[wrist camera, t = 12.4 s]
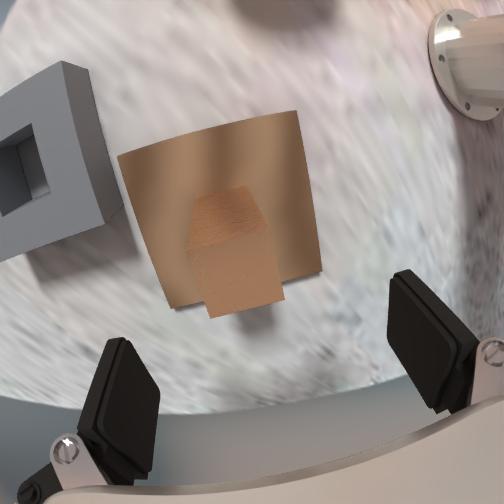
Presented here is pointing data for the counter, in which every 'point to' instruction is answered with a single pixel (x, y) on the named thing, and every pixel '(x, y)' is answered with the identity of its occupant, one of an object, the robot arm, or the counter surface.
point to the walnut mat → (218, 180)
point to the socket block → (53, 161)
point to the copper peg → (233, 253)
